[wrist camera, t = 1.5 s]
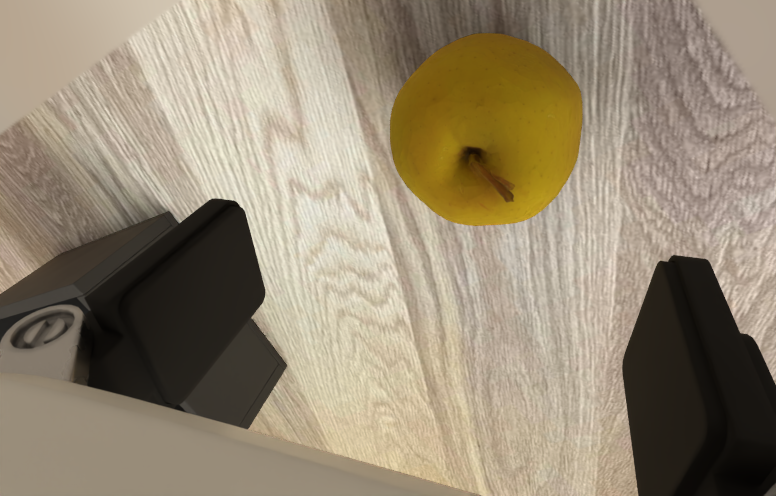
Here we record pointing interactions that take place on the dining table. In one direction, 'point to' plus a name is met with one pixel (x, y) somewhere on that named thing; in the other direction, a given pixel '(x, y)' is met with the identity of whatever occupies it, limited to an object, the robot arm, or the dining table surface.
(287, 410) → the dining table surface
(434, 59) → the apple
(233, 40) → the dining table surface
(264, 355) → the bin
